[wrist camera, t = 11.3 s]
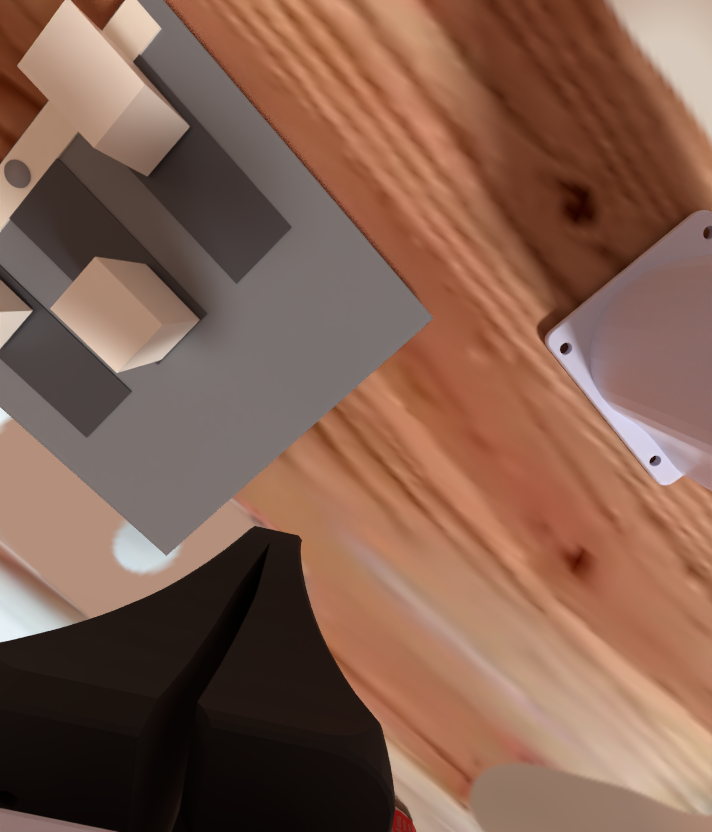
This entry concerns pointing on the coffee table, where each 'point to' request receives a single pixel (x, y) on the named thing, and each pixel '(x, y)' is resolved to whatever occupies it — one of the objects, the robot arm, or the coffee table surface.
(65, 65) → the tab
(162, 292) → the tab
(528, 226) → the coffee table surface
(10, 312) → the tab
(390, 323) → the switch bank
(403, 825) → the soda can
